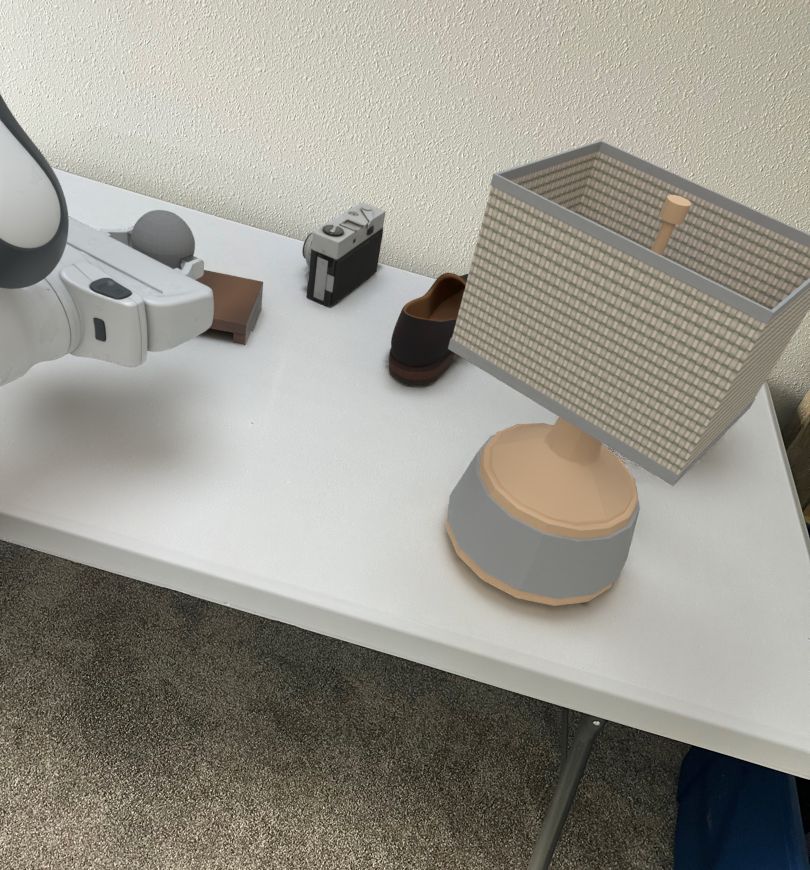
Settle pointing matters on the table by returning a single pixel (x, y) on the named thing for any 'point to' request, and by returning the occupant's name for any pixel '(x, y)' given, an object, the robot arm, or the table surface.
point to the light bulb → (163, 237)
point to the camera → (343, 253)
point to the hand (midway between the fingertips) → (170, 250)
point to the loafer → (426, 332)
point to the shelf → (234, 303)
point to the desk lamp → (609, 354)
